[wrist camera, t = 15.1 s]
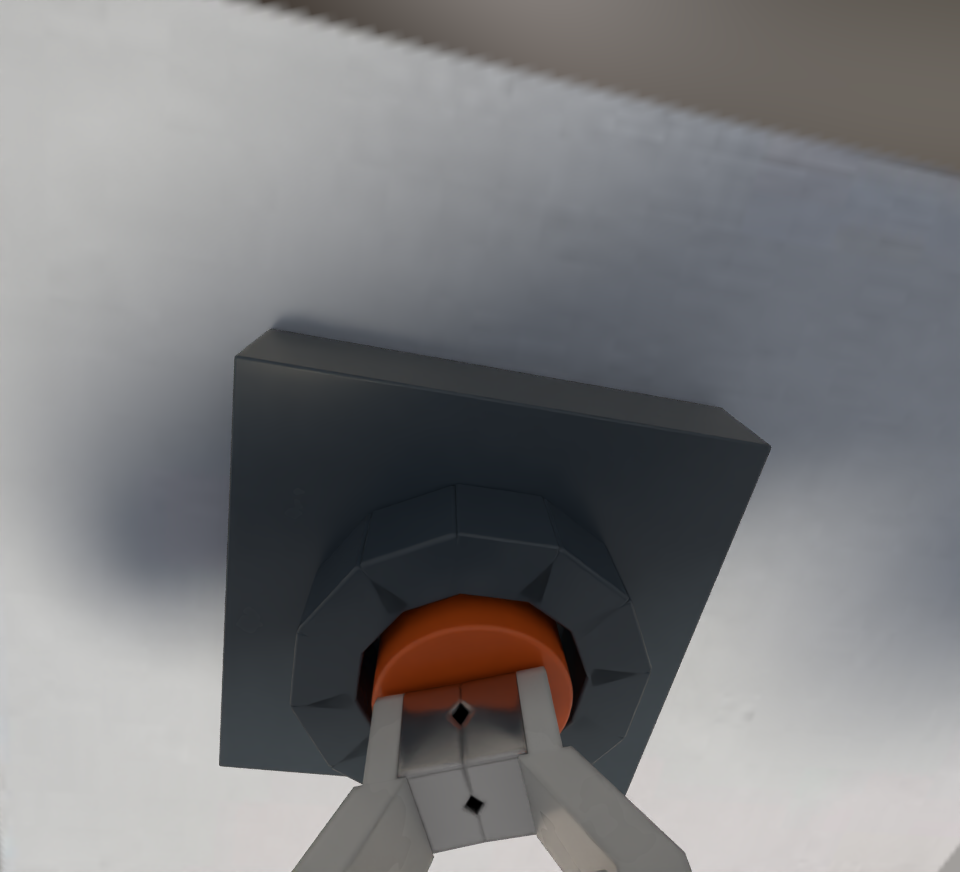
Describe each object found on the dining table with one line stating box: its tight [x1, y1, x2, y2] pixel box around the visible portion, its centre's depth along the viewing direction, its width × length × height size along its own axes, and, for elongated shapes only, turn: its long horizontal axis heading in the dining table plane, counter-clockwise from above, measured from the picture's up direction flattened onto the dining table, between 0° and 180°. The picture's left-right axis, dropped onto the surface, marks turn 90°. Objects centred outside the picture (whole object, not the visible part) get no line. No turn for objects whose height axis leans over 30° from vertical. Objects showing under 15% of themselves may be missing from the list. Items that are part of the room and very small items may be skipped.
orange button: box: [371, 594, 573, 733], centre depth 11 cm, size 4×4×2 cm
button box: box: [219, 329, 771, 796], centre depth 12 cm, size 10×10×4 cm
